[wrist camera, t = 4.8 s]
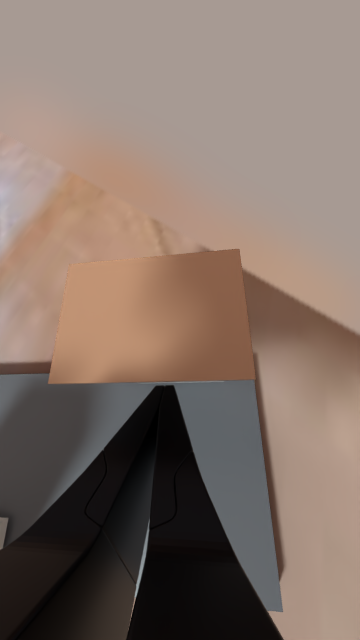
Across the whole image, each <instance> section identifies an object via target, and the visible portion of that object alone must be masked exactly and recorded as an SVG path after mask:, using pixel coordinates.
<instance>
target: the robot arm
mask: <svg viewBox="0 0 360 640" xmlns="http://www.w3.org/2000/svg"><path fill="white" fill-rule="evenodd" d="M149 518H150V521H149ZM148 524H149V533H148V543H147V551H146V557H145V562H144V567H143V571H142V575H141V579H140V583H139V588H138V592H137V596H136V600H135V604H134V609H133V613H132V608H133V602H134V597H135V592H136V584H137V581H138V576H139V571H140V565H141V560H142V555H143V550H144V545H145V539H146V534H147V529H148ZM131 613H132V617H131ZM130 618H131V621H130ZM129 623H130V625H129ZM128 628H129V630H128ZM0 640H284V639H283V637H282V636H281V634H280V632H279V631H278V629H277V627H276V625H275V624H274V622H273V620H272V618H271V617H270V615H269V613H268V611H267V610H266V608H265V606H264V604H263V603H262V601H261V599H260V597H259V596H258V594H257V592H256V590H255V589H254V587H253V585H252V583H251V582H250V580H249V578H248V577H247V575H246V573H245V571H244V570H243V568H242V566H241V564H240V562H239V560H238V558H237V556H236V554H235V552H234V550H233V548H232V546H231V544H230V541H229V539H228V537H227V535H226V532H225V530H224V528H223V526H222V523H221V521H220V519H219V516H218V514H217V512H216V509H215V507H214V505H213V503H212V500H211V498H210V496H209V493H208V491H207V488H206V486H205V483H204V481H203V479H202V476H201V473H200V470H199V467H198V464H197V461H196V457H195V454H194V452H193V447H192V444H191V440H190V437H189V434H188V430H187V427H186V423H185V420H184V417H183V413H182V410H181V406H180V403H179V399H178V396H177V393H176V389H175V386H174V385H166V386H164V385H156V386H155V387H154V388H153V389H152V391H151V392H150V393H149V394H148V395H147V397H146V398H145V399H144V400H143V401H142V403H141V404H140V405H139V406H138V407H137V409H136V410H135V411H134V412H133V413H132V415H131V416H130V417H129V418H128V420H127V421H126V422H125V423H124V424H123V426H122V427H121V428H120V429H119V430H118V432H117V433H116V434H115V435H114V436H113V438H112V439H111V440H110V441H109V442H108V444H107V445H106V446H105V447H104V450H102V451H101V452H100V453H99V454H98V455H97V457H96V458H95V459H94V460H93V461H92V463H91V464H90V465H89V466H88V467H87V468H86V469H85V471H84V472H83V473H82V474H81V475H80V476H79V477H78V478H77V479H76V480H75V481H74V482H73V483H72V485H71V486H70V487H69V488H68V489H67V490H66V491H65V492H64V493H63V494H62V495H61V496H60V497H59V498H58V499H57V500H56V501H55V502H54V503H53V504H52V505H51V506H50V507H49V508H48V509H47V510H46V511H45V512H44V513H43V514H42V515H41V516H40V517H39V518H38V519H37V520H36V521H35V522H34V523H33V524H32V525H31V526H30V527H29V528H28V529H27V530H26V531H25V532H24V533H23V534H22V535H20V536H19V537H18V538H17V539H15V540H14V541H13V542H11V543H10V544H9V545H7V546H6V547H4V548H2V549H1V550H0Z"/></svg>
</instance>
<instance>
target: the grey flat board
mask: <svg viewBox="0 0 360 640" xmlns="http://www.w3.org/2000/svg"><path fill="white" fill-rule="evenodd" d="M49 375H50V373H45V374H8V375H0V517H2V518H8V523H7V528H6V533H5V539H4V544H3V548H4V547H6V546H7V545H9V544H10V543H11V542H13V541H14V540H15V539H17V538H18V537H19V536H20V535H22V534H23V533H24V532H25V531H26V530H27V529H28V528H29V527H30V526H31V525H32V524H33V523H34V522H35V521H36V520H37V519H38V518H39V517H40V516H41V515H42V514H43V513H44V512H45V511H46V510H47V509H48V508H49V507H50V506H51V505H52V504H53V503H54V502H55V501H56V500H57V499H58V498H59V497H60V496H61V495H62V494H63V493H64V492H65V491H66V490H67V489H68V488H69V487H70V486H71V485H72V483H73V482H74V481H75V480H76V479H77V478H78V477H79V476H80V475H81V474H82V473H83V472H84V471H85V469H86V468H87V467H88V466H89V465H90V464H91V463H92V461H93V460H94V459H95V458H96V457H97V455H98V454H99V453H100V452H101V451H102V450H104V447H105V446H106V445H107V444H108V442H109V441H110V440H111V439H112V438H113V436H114V435H115V434H116V433H117V432H118V430H119V429H120V428H121V427H122V426H123V424H124V423H125V422H126V421H127V420H128V418H129V417H130V416H131V415H132V413H133V412H134V411H135V410H136V409H137V407H138V406H139V405H140V404H141V403H142V401H143V400H144V399H145V398H146V397H147V395H148V394H149V393H150V392H151V391H152V389H153V388H154V387H155V386H156V385H164V386H166V385H174V386H175V389H176V393H177V396H178V399H179V403H180V406H181V410H182V413H183V417H184V420H185V423H186V427H187V430H188V434H189V437H190V440H191V444H192V447H193V452H194V454H195V457H196V461H197V464H198V467H199V470H200V473H201V476H202V479H203V481H204V483H205V486H206V488H207V491H208V493H209V496H210V498H211V500H212V503H213V505H214V507H215V509H216V512H217V514H218V516H219V519H220V521H221V523H222V526H223V528H224V530H225V532H226V535H227V537H228V539H229V541H230V544H231V546H232V548H233V550H234V552H235V554H236V556H237V558H238V560H239V562H240V564H241V566H242V568H243V570H244V571H245V573H246V575H247V577H248V578H249V580H250V582H251V583H252V585H253V587H254V589H255V590H256V592H257V594H258V596H259V597H260V599H261V601H262V603H263V604H264V606H265V608H266V610H267V611H277V612H283V608H282V600H281V592H280V584H279V576H278V568H277V560H276V552H275V544H274V536H273V528H272V520H271V512H270V504H269V496H268V488H267V480H266V472H265V464H264V456H263V448H262V440H261V432H260V424H259V416H258V408H257V400H256V392H255V384H254V380H235V381H224V382H188V383H93V384H48V380H49ZM149 521H150V518H149ZM148 533H149V524H148V529H147V534H146V539H145V545H144V550H143V555H142V560H141V565H140V571H139V576H138V581H137V584H136V592H135V597H136V596H137V592H138V588H139V583H140V579H141V575H142V571H143V567H144V562H145V557H146V551H147V543H148Z"/></svg>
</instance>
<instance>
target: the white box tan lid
mask: <svg viewBox="0 0 360 640" xmlns="http://www.w3.org/2000/svg"><path fill="white" fill-rule="evenodd" d="M255 379H256V376H255V368H254V360H253V352H252V344H251V337H250V329H249V321H248V313H247V305H246V297H245V290H244V282H243V274H242V266H241V259H240V251H239V249H232V250H222V251H210V252H199V253H188V254H177V255H166V256H155V257H144V258H133V259H122V260H111V261H100V262H89V263H78V264H69V267H68V273H67V279H66V284H65V290H64V296H63V301H62V307H61V313H60V318H59V324H58V330H57V335H56V341H55V346H54V352H53V358H52V363H51V369H50V375H49V380H48V384H93V383H188V382H224V381H235V380H255Z"/></svg>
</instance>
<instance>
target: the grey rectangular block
mask: <svg viewBox="0 0 360 640" xmlns="http://www.w3.org/2000/svg"><path fill="white" fill-rule="evenodd" d="M7 523H8V518H2V517H0V550H1V549H2V548H3V544H4V539H5V533H6V528H7Z"/></svg>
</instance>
